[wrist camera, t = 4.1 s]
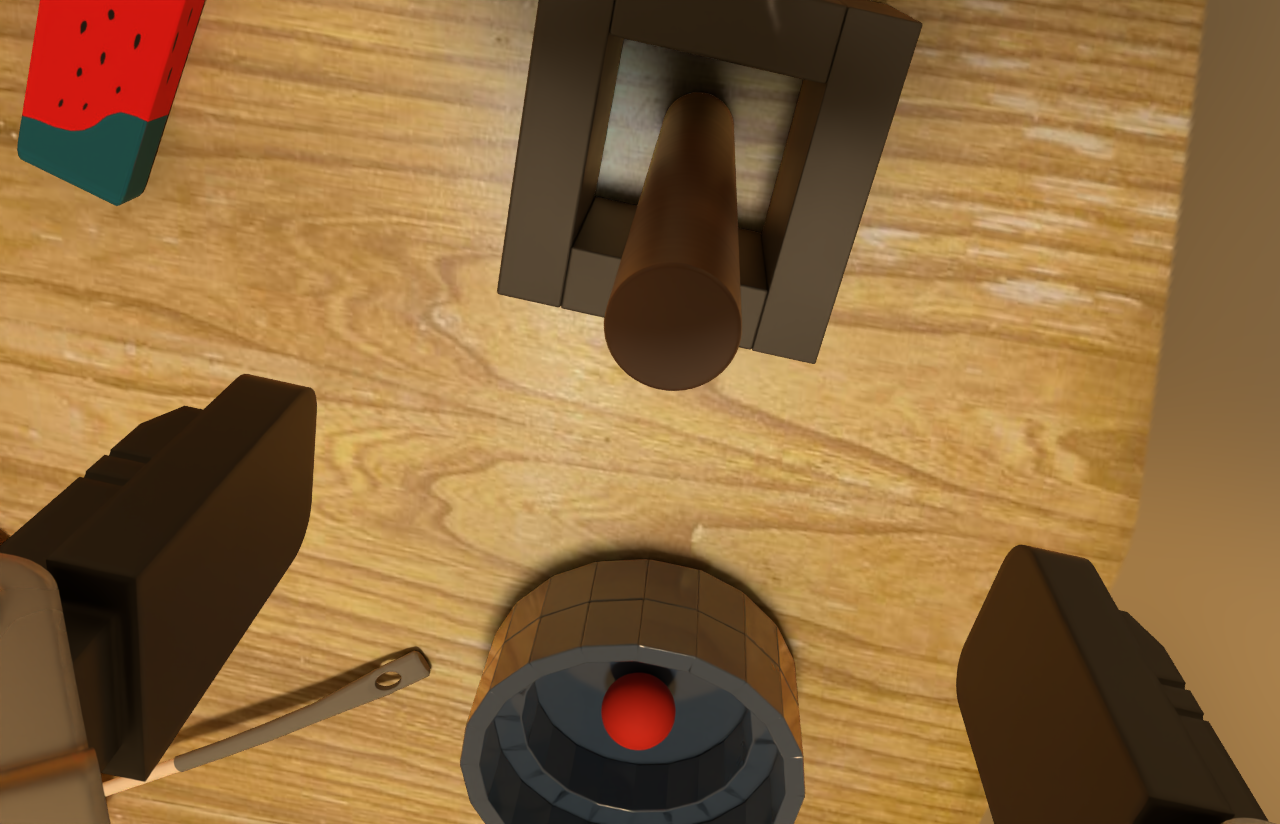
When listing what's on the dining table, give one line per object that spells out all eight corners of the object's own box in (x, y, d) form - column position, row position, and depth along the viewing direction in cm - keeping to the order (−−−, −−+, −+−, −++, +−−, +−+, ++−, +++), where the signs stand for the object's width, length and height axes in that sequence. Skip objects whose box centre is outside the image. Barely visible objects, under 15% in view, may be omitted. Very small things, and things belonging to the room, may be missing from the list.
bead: (684, 665, 43) (681, 718, 40) (668, 718, 44) (665, 773, 41) (613, 650, 43) (604, 702, 40) (599, 703, 44) (591, 757, 41)
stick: (741, 100, 32) (757, 280, 16) (724, 171, 33) (723, 405, 17) (671, 84, 32) (617, 249, 16) (656, 156, 33) (592, 376, 17)
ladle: (-81, 782, 50) (-145, 855, 45) (406, 563, 47) (388, 619, 43) (-3, 862, 52) (-58, 940, 48) (467, 658, 49) (456, 720, 45)
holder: (889, 4, 31) (923, 23, 25) (801, 297, 35) (815, 364, 30) (578, -67, 30) (546, -63, 25) (530, 237, 35) (495, 294, 30)
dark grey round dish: (832, 588, 41) (848, 689, 36) (751, 808, 47) (754, 922, 42) (515, 520, 41) (484, 612, 35) (476, 751, 47) (443, 858, 42)
